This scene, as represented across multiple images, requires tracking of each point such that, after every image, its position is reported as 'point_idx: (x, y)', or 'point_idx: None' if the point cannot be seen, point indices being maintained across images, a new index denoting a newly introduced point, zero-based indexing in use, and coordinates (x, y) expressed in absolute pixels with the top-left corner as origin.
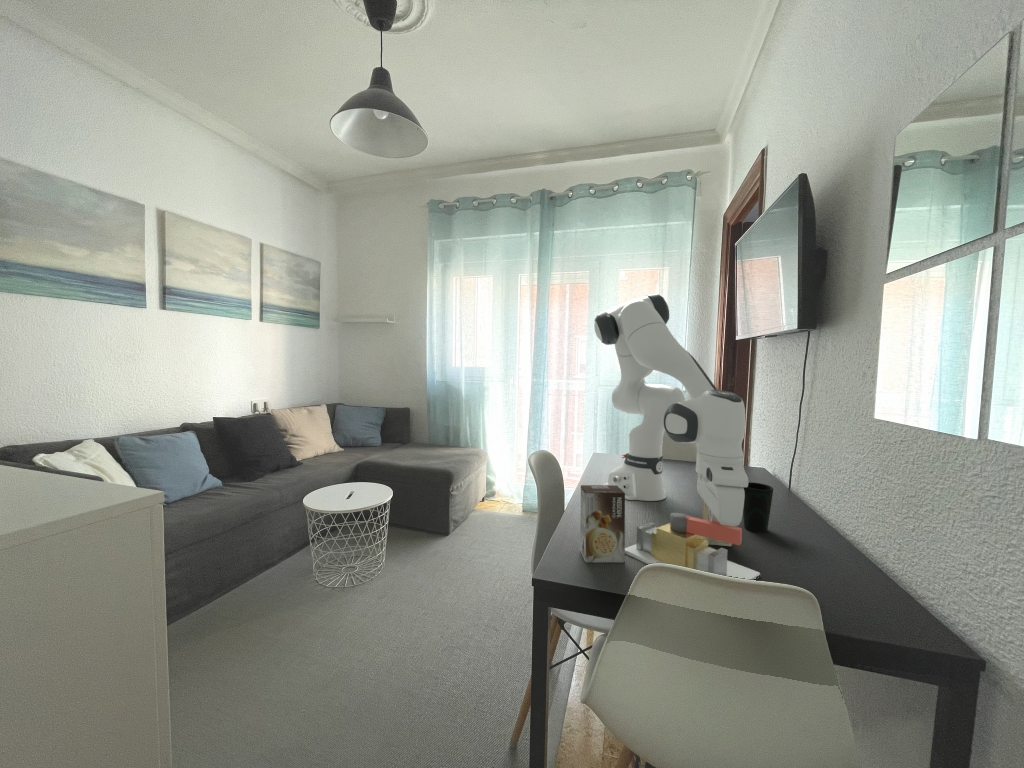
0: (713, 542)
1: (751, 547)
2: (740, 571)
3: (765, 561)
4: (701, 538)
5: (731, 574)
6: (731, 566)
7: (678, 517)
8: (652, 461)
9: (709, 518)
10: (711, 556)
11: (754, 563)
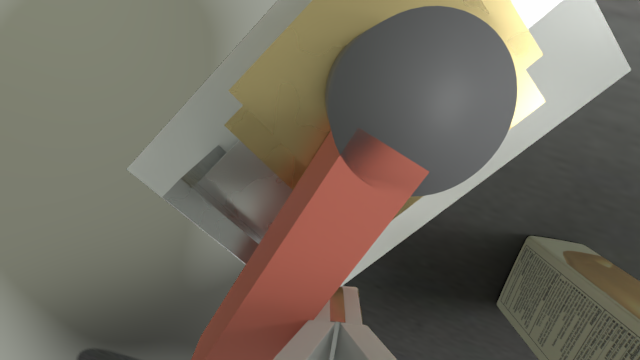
0: (521, 263)
1: (490, 350)
2: None
3: (400, 349)
4: None
5: None
6: None
7: (370, 79)
8: None
9: (365, 325)
10: (172, 187)
11: (385, 320)
